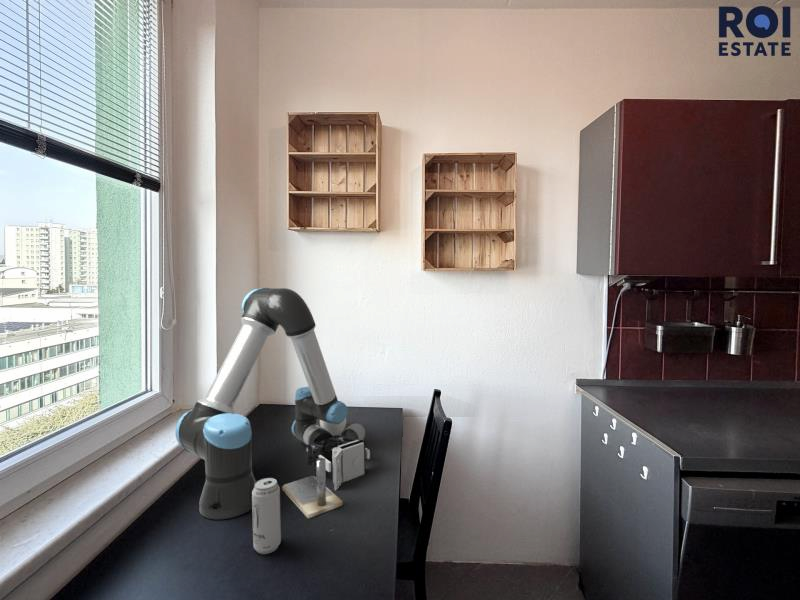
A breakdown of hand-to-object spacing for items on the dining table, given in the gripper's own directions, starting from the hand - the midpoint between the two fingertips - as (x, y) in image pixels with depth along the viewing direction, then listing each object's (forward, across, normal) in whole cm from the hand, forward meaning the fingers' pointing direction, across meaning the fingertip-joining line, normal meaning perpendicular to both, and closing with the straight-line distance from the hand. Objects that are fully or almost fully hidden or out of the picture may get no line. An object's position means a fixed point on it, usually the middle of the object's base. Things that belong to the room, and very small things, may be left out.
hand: (350, 460), depth 123 cm
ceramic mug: (-22, -13, -6) cm, 27 cm away
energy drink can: (+15, +31, -6) cm, 35 cm away
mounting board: (+2, +14, -6) cm, 15 cm away
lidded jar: (-36, -14, -6) cm, 39 cm away
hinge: (-1, +1, -6) cm, 6 cm away
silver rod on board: (+1, +14, -5) cm, 14 cm away
